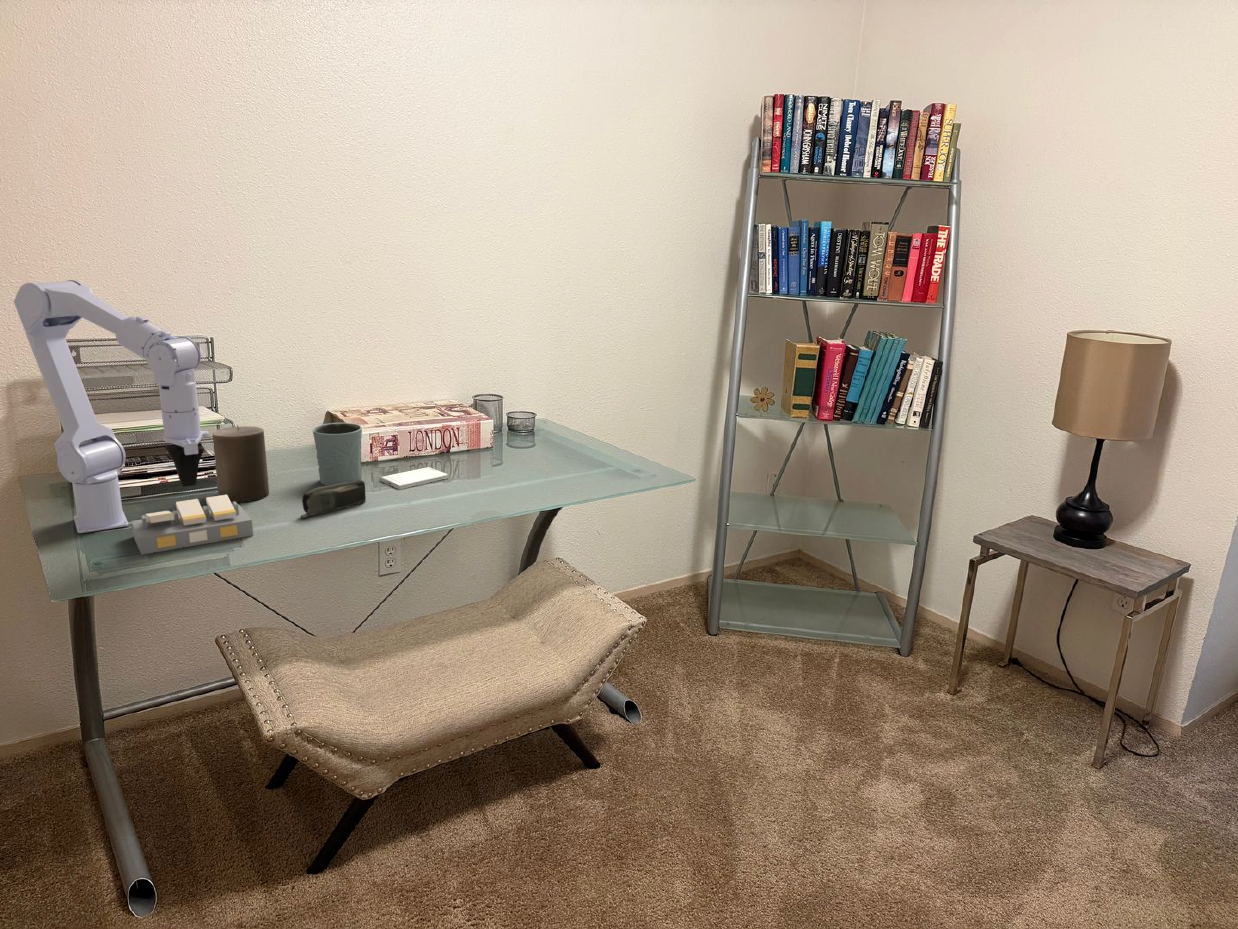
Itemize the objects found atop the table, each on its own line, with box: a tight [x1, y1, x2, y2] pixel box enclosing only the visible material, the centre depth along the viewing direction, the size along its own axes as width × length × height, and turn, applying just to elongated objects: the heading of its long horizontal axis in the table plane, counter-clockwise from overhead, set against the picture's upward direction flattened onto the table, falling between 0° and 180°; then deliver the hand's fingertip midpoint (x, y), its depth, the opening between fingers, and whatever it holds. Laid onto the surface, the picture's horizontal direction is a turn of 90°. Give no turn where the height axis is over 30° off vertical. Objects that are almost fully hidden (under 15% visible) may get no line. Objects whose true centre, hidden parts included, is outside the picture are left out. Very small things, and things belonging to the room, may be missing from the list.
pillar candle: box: [212, 424, 270, 503], centre depth 176 cm, size 10×10×15 cm
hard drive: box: [379, 466, 449, 490], centre depth 192 cm, size 2×8×12 cm
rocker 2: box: [175, 498, 206, 526], centre depth 154 cm, size 7×4×1 cm, turn 36°
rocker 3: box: [205, 495, 236, 521], centre depth 157 cm, size 7×4×1 cm, turn 36°
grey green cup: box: [312, 422, 363, 486], centre depth 188 cm, size 10×10×12 cm
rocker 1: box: [145, 510, 174, 523], centre depth 151 cm, size 7×4×1 cm, turn 35°
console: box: [131, 501, 254, 555], centre depth 155 cm, size 10×18×5 cm, turn 125°
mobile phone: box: [300, 479, 367, 519], centre depth 171 cm, size 5×3×15 cm
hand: (188, 485), depth 152 cm, fingers closed
